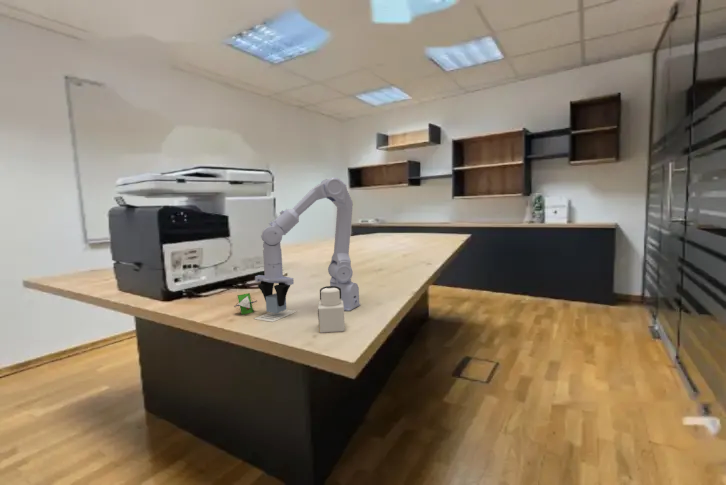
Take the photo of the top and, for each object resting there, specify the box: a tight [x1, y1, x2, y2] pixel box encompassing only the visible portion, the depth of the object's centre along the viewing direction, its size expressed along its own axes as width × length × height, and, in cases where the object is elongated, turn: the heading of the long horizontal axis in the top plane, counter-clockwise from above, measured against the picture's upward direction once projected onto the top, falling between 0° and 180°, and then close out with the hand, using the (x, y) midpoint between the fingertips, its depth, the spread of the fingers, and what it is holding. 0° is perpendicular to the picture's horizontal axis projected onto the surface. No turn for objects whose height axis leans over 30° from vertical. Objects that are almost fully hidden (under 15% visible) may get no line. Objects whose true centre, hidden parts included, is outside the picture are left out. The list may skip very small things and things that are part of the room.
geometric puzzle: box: [233, 292, 258, 316], centre depth 123 cm, size 7×7×8 cm
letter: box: [253, 309, 298, 323], centre depth 120 cm, size 8×12×1 cm, turn 152°
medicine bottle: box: [317, 285, 346, 334], centre depth 105 cm, size 7×7×12 cm
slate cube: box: [265, 292, 287, 313], centre depth 120 cm, size 4×4×5 cm
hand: (275, 304), depth 119 cm, fingers closed on slate cube, 4 cm apart
